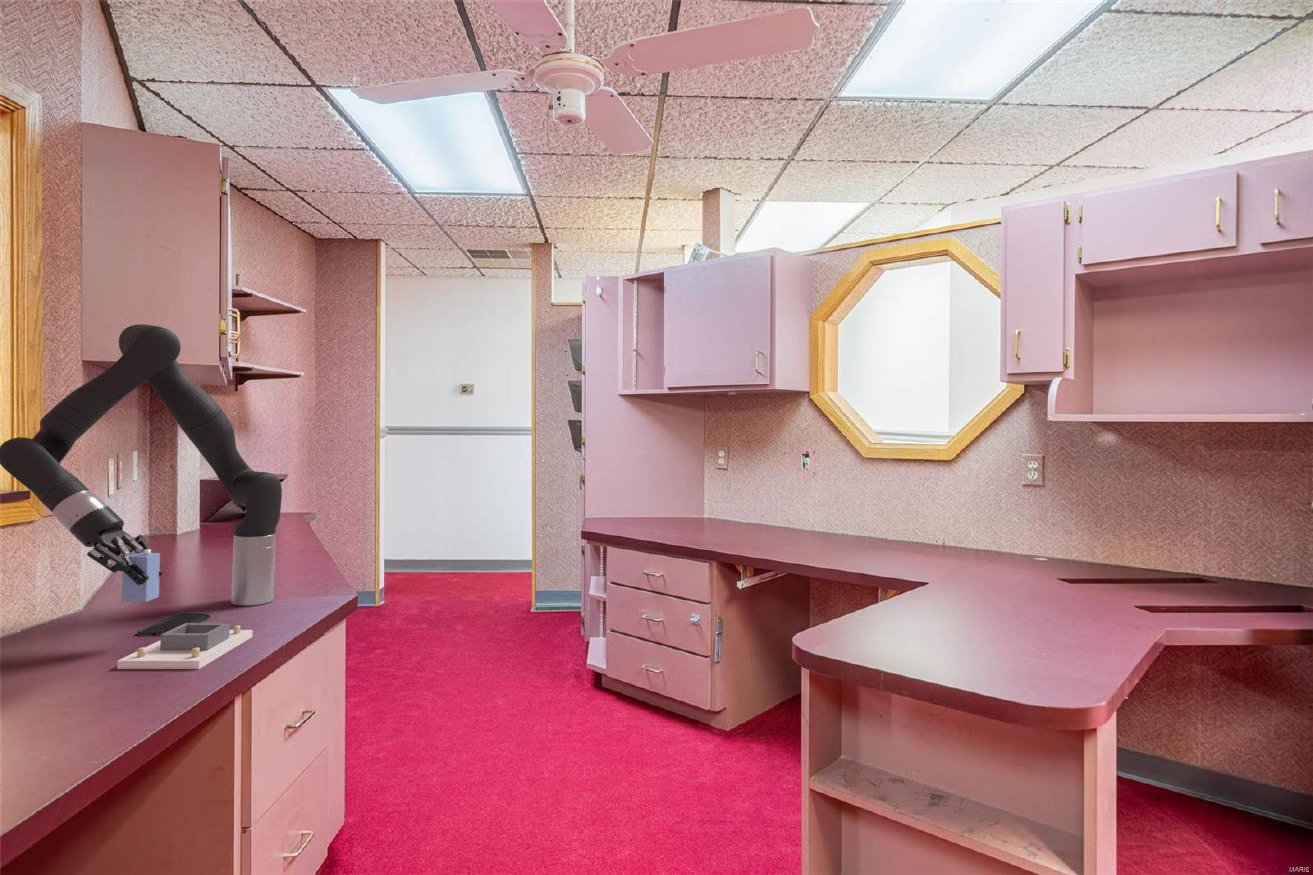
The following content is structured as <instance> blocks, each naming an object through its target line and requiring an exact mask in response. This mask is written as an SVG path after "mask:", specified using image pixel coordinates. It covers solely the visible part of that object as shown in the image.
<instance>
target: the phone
mask: <svg viewBox="0 0 1313 875" xmlns="http://www.w3.org/2000/svg"><path fill="white" fill-rule="evenodd" d="M210 618H211V614H210V613H176V614H173V615H170V616H169V617H165V618H164V619H161V620H159V621H157V622H155V623H152V624H150V625H148V626H146V627H143V628H141V629H139V630H137V634H136V636H139V637H141V636H142V637H161V634H163V633H166V632H168V631H170V630H172V629H174V628H176V627H178V626H181V625H183V624H185V623H203V622H206V621H207V620H209V619H210Z"/></svg>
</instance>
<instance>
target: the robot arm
mask: <svg viewBox="0 0 1313 875" xmlns="http://www.w3.org/2000/svg"><path fill="white" fill-rule="evenodd" d="M118 347H119V350H120V353H121V356H120V358H118V359H117V361H115V363H113V364H112V365H111V366H110V367H109V368H106V370H104V371H103V372H102V373H100V374H99V375H97V376H96V377H94V378H92V379H91V380H89V381H87V382H86V383H84V384H82V385H81V386H79V387H77V388H76V389H74V390H73V391H72V392H70V393H68V394H67V396H65V397H64V398H63V399H61V400H60V401H59V402H58V403H57V404H56V405H55V406H54V407H52V409H50V410H49V411H48V412H47V413H46V414H45V415H44V416H42V418H41V419H40V420H39V427H40V429H39V430H38V432H37V433H36V434H35V435H34V436H33V437H32V438H30V437H22V436H20V437H18V436H17V437H13V438H10V439H7V440H5V441H4V442H3V443H2V444H1V445H0V466H1V467H2V468H3V469H4V470H5V471H6V472H7V473H8V474H10V475H11V476H12V477H13V478H15V479H16V480H17V481H18V482H20V484H22V485H23V486H24V487H26V488H27V489H28V490H30V491H31V492H32V493H33V494H34V495H35V497H36V498H37V499H38V501H40V502H41V503H42V504H43V505H44V506H45V507H46V508H47V509H48V510H49V511H50V512H51V513H52V514H53V516H55V518H56V519H57V520H58V521H59V523H60V524H61V525H63V527H64V528H65V529H66V530H68V532H70V534H71V535H73V536H74V537H75V538H76V539H77V540H78V542H80V543H81V544H82V545H83V546H84V547H85V548H91V550H89V551H88V552H87V553H86V555H87V557H89V558H91V559H92V560H94V561H95V562H96V563H98V564H100V566H102V567H104V568H106V569H107V570H109V571H110V572H112V573H117V572H120V573H121V574H123V573H126V574H127V575H128V576H129V577H130V578H131V579H132V580H133V581H134V582H135V583H136V584H137V585H141V584H143V583H144V582H146V581H147V580H148V579H149V577H148V575H146V574H145V573H144V572H143V571H142V570H141V569H140V568H139V567H138V566H137V565H134V562H133V560H132V559H130V558H129V556H130V554H133V552H134V553H143V552H144V550H146V549H151V553H155V551H154V550H153V548H152V547H151V546H150V543H148V541H147V539H146V538H145V536H144V535H142V534H138V535H137V536H136V537H135V536H132V535H131V534H129V533H127V532H126V531H124V530H123V528H124V525H125V521H124V520H123V519H122V518H121V517H120V516H119V515H118V514H117V513H116V512H115V511H114V510H112V508H111V507H110V506H109V505H108V504H106V502H104V500H103V499H101V498H100V497H99V496H98V495H96V494H95V493H94V492H92V491H91V490H90V489H89V488H88V487H87V486H86V485H85V484H84V483H83V482H82V481H81V480H80V479H79V478H77V477H76V476H75V475H74V474H72V473H71V472H69V471H68V470H67V469H65V468H64V466H62V465H61V463H62V461H63V460H64V458H65V457H66V456H67V455H68V453H69V452H70V450H72V447H74V444H75V443H76V441H77V440H79V439H80V437H82V436H83V435H84V434H86V432H87V431H88V430H90V429H91V428H92V427H93V426H94V425H95V424H96V423H97V422H98V421H99V420H100V419H101V418H103V417H104V415H105V414H107V413H108V411H110V410H111V409H112V408H113V407H114V406H115V405H117V404H118V403H120V401H121V400H123V399H124V398H125V397H126V396H128V395H129V394H130V393H131V392H133V391H134V390H135V389H136V388H138V387H140V385H142V384H143V383H145V382H147V383H148V384H149V386H151V387H152V389H153V390H154V391H155V393H156V394H157V396H158V397H159V398H160V400H161V402H162V403H163V404H164V406H165V408H166V409H167V411H168V412H169V413H170V414H171V416H172V417H173V419H174V420H175V421H176V423H177V425H178V426H179V427H180V429H181V430H182V432H184V434H185V435H186V436H187V438H188V440H189V441H191V443H192V444H193V445H194V446H195V448H196V449H197V450H198V452H199V453H200V454H201V455H202V457H203V458H204V460H205V462H207V463H208V464H209V466H210V467H211V468H212V470H213V472H214V473H215V475H216V477H217V478H218V480H219V482H220V483H221V485H222V488H224V490H225V492H226V493H227V495H228V497H229V498H230V499H231V501H232V502H234V503H235V504H237V505H239V506H241V507H243V508H245V507H246V508H245V514H244V517H243V519H242V520H240V521H238V522H236V523H235V524H234V526H233V544H232V545H233V546H232V548H233V551H232V573H231V574H232V575H231V576H232V578H231V597H230V598H231V599H230V600H231V601H230V603H231V604H232V605H234V606H243V607H244V606H258V605H263V604H264V605H265V604H268V603H271V602H272V601H274V587H275V585H274V584H275V564H276V563H275V557H276V531H277V526H278V524H279V522H280V518H281V510H282V498H283V497H282V496H283V488H282V484H281V480H280V479H279V478H278V476H277V475H276V474H274V473H272V472H266V471H255V470H254V469H252V468H251V467H250V466H249V465H248V464H247V463H246V461H245V460H244V458H243V457H242V456H241V454H240V453H239V451H238V449H237V445H236V434H235V430H234V427H233V424H232V423H231V420H229V417H228V416H227V415H226V413H225V412H224V411H223V409H222V408H221V407H220V405H219V404H218V403H217V402H216V400H215V399H214V398H213V397H211V396H210V394H209V393H207V391H206V390H204V389H203V388H202V386H200V385H199V384H198V383H196V382H195V381H194V380H193V379H192V378H191V377H190V376H189V375H188V374H187V373H186V372H185V370H183V368H182V367H181V365H180V364H179V362H178V361H177V359H178V357H179V356H180V353H181V348H182V347H181V341H180V339H179V337H178V336H177V334H175V333H174V331H173V332H172V330H170V329H168V328H165V327H163V326H158V325H153V324H145V323H144V324H141V323H138V324H131V325H129V326H127V327H125V328H124V329H123V330H122V331H121V332H120V334H119V338H118ZM123 559H124V560H123ZM163 574H164V572H163V570H162V569H161V568H160V571H159V578H161V577H162V576H163Z"/></svg>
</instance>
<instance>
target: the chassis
mask: <svg viewBox="0 0 1313 875" xmlns="http://www.w3.org/2000/svg"><path fill="white" fill-rule="evenodd" d="M230 626H231V624H230V623H219V622H218V623H212V622H211V623H210V622H207V623H205V622H204V623H203V622H201V623H185V624H183V625H181V626H178V627H176V628H174V629H172V630H170V631H168V632H166V633H163V634H161V636H160V639H159V640H158V641H156V642H154V643H152V644H149V645H147V646H146V647H145V646H143V647H138V648H137V651H135V652H133V653H131V654H129V655H126V656H124V657H122V658H120V659H118V660H117V661H116V662H117V663H116V664H117V667H116V668H117V669H116V670H200V669H202V668H203V667H205V666H206V665H208V664H210V663H212V662H214V661H215V660H216V659H218V658H220V657H221V656H223V655H225V654H226V653H228V652H230V651H232V650H233V649H235V648H237V647H238V646H239V645H241V644H243V643H245V642H246V641H249V639H251V638H253V633H254V632H253V630H254V629H241V625H238V624H237V625H234V626H233V629H230Z"/></svg>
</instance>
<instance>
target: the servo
mask: <svg viewBox="0 0 1313 875" xmlns="http://www.w3.org/2000/svg"><path fill="white" fill-rule="evenodd" d="M129 558H130V559H132V560H133V562H134V565H137V566H138V567H139V568H140V569H141V570H142V571H143V572H144V573H145V574H146V575H148V577H149V579H148V580H147V581H146V582H144V583H143V584H141V585H137V584H136V583H135V582H134V581H133V580H132V579H131V578H130V577H129V576H128V575H127V574H126V573H122V584H121V585H122V592H121V602H123V603H126V602H127V603H129V602H133V603H134V602H135V603H139V602H141V603H146V602H149V601H151V600H154V599H157V598H159V597H160V577H159V571H160V569H161V566H160V565H161V552H154V553H151V549H146V550H144V552H143V553H135V552H134V553H131V554H130V556H129ZM123 560H124V559H123Z"/></svg>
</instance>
